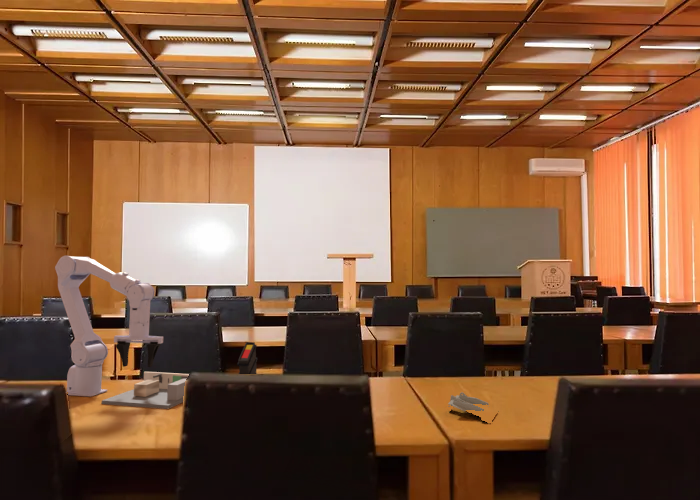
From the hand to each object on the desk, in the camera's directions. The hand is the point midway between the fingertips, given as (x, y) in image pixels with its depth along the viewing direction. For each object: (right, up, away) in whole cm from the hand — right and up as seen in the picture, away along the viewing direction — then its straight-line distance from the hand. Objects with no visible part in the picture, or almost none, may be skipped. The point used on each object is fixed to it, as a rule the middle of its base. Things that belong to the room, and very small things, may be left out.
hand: (137, 366), depth 157 cm
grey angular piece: (+100, -11, -15) cm, 102 cm away
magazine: (+31, -11, +13) cm, 36 cm away
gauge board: (+6, -9, -2) cm, 11 cm away
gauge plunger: (+4, -8, +1) cm, 9 cm away
